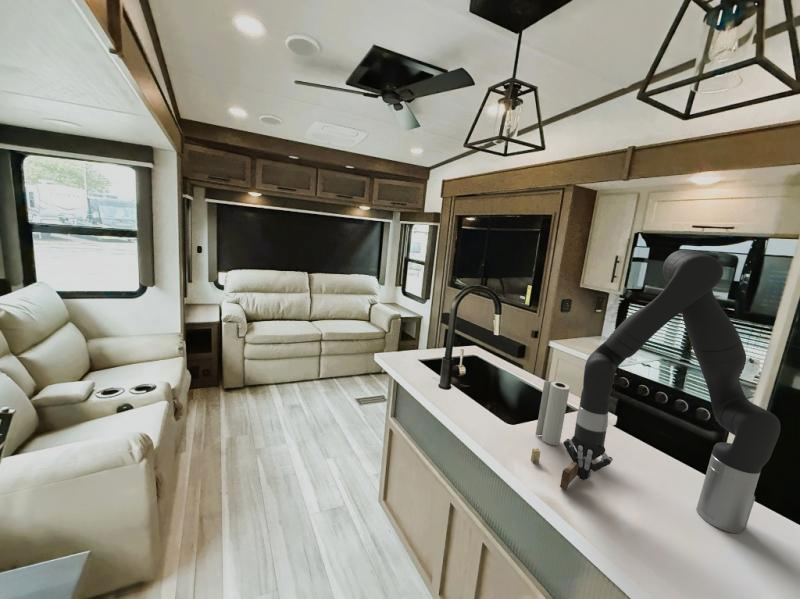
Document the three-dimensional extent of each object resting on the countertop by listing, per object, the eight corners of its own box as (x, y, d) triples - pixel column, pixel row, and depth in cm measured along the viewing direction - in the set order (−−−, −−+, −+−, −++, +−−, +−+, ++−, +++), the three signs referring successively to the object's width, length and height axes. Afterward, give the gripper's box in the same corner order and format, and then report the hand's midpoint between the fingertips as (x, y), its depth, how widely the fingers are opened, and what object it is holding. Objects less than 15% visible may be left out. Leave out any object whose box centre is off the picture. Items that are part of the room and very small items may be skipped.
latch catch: (536, 459, 112) (538, 448, 111) (538, 462, 110) (540, 451, 110) (530, 459, 112) (532, 448, 111) (532, 462, 110) (534, 451, 110)
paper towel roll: (563, 444, 122) (574, 387, 118) (550, 447, 120) (560, 389, 115) (548, 432, 128) (557, 378, 124) (535, 435, 126) (544, 380, 122)
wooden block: (576, 469, 108) (579, 454, 107) (581, 472, 106) (584, 456, 105) (559, 487, 99) (563, 470, 98) (565, 490, 98) (568, 473, 97)
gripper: (561, 418, 99) (554, 472, 102) (613, 438, 90) (603, 497, 93) (571, 410, 104) (564, 462, 107) (622, 428, 95) (612, 485, 98)
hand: (582, 478), depth 100 cm, fingers closed
